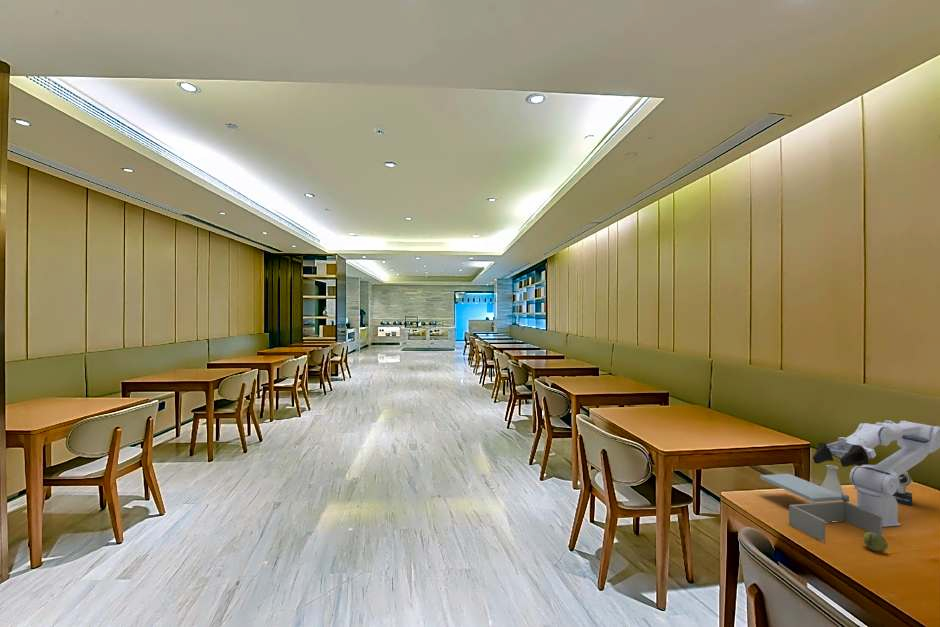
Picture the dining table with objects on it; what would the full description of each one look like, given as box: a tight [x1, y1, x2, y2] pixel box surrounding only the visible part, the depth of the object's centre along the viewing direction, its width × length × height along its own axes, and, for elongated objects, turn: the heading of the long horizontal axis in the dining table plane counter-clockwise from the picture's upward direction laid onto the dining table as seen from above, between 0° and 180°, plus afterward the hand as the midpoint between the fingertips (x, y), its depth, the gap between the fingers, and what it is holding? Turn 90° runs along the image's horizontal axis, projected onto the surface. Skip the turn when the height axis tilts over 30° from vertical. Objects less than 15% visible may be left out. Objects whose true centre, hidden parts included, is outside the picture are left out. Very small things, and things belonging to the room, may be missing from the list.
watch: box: [893, 471, 914, 507], centre depth 154 cm, size 6×8×11 cm
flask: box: [820, 464, 845, 495], centre depth 160 cm, size 7×7×10 cm
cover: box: [759, 473, 850, 503], centre depth 148 cm, size 21×13×1 cm, turn 10°
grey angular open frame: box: [788, 500, 883, 542], centre depth 132 cm, size 20×11×6 cm, turn 100°
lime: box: [862, 531, 889, 553], centre depth 121 cm, size 4×5×5 cm
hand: (828, 461), depth 131 cm, fingers open, 7 cm apart
